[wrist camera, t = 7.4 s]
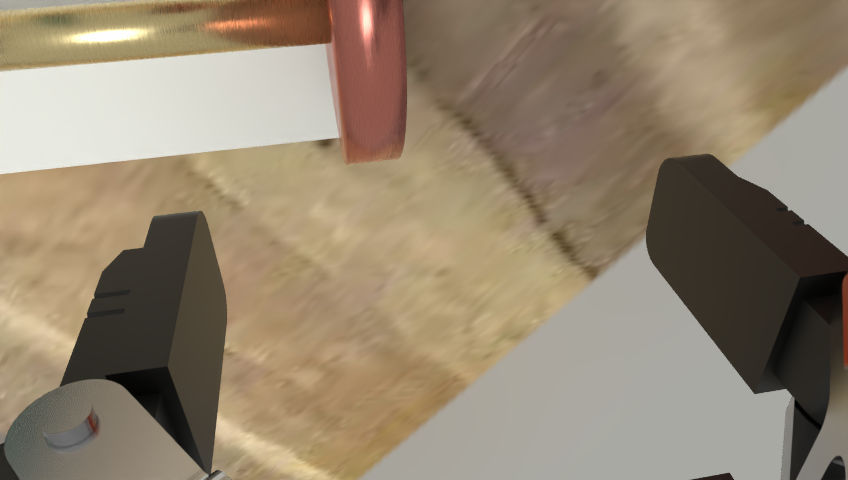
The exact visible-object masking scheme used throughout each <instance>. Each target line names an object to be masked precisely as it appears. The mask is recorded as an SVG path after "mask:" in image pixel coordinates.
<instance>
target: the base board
mask: <svg viewBox="0 0 848 480" xmlns="http://www.w3.org/2000/svg"><path fill="white" fill-rule="evenodd" d="M122 1H136V0H0V10H11V9H25V8H39V7H53V6H67V5H80V4H94V3H108V2H122ZM331 138H339V134H338V128H337V123H336V116H335V110H334V104H333V97H332V90H331V83H330V76H329V69H328V61H327V54H326V46H325V44H319V45H307V46H295V47H284V48H272V49H260V50H249V51H237V52H225V53H213V54H202V55H190V56H178V57H167V58H155V59H143V60H132V61H120V62H108V63H97V64H85V65H73V66H61V67H50V68H38V69H26V70H15V71H3V72H0V174H5V173H14V172H24V171H33V170H42V169H52V168H61V167H70V166H80V165H89V164H98V163H108V162H117V161H126V160H136V159H145V158H154V157H163V156H173V155H182V154H191V153H201V152H210V151H219V150H229V149H238V148H247V147H257V146H266V145H275V144H285V143H294V142H303V141H313V140H322V139H331Z"/></svg>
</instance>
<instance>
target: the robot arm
mask: <svg viewBox="0 0 848 480" xmlns="http://www.w3.org/2000/svg"><path fill="white" fill-rule="evenodd" d="M646 244H647V249H648V253H649V256H650V259H651V261H652V263H653V264H654V265H655V267H656V268H657V269H658V271H659V272H660V273H661V275H662V276H663V277H664V278H665V280H666V281H667V282H668V283H669V285H670V286H671V287H672V289H673V290H674V291H675V292H676V294H677V295H678V296H679V298H680V299H681V300H682V301H683V303H684V304H685V305H686V306H687V308H688V309H689V310H690V312H691V313H692V314H693V315H694V317H695V318H696V319H697V321H698V322H699V323H700V325H701V326H702V327H703V328H704V330H705V331H706V332H707V334H708V335H709V336H710V337H711V339H712V340H713V341H714V342H715V344H716V345H717V346H718V348H719V349H720V350H721V352H722V353H723V354H724V355H725V356H726V358H727V359H728V361H729V362H730V363H731V364H732V366H733V367H734V368H735V369H736V371H737V372H738V373H739V375H740V376H741V377H742V378H743V380H744V381H745V382H746V384H747V385H748V386H749V387H750V389H751V390H752V391H753V393H754V394H758V393H764V392H770V391H776V390H781V389H787V390H788V391H789V392H790V394H791V395H792V397H791V399H790V402H789V404H788V406H787V409H786V415H785V428H784V441H783V455H782V468H781V480H848V257H847V256H846V255H845V254H844V253H842V252H841V251H840V250H839V249H838V248H836V247H835V246H834V245H833V244H832V243H830V242H829V241H828V240H827V239H826V238H824V237H823V236H822V235H821V234H819V233H818V232H817V231H816V230H815V229H814V228H812V227H811V226H810V225H808V224H807V225H805V224H804V220H803V219H801V218H800V217H799V216H798V215H797V214H795V213H794V212H793V211H792V210H791V211H788V207H787V206H786V205H785V204H783V203H782V202H781V201H780V200H779V199H777V198H776V197H775V196H774V195H773V194H771V193H770V192H769V191H768V190H766V189H763V188H761V187H759V186H757V185H755V184H753V183H751V182H749V181H746V180H744V179H742V178H740V177H738V176H737V175H735V174H734V173H733V172H732V171H731V170H730V169H728V168H727V167H726V166H725V165H724V164H723V163H721V162H720V161H719V160H718V159H717V158H715V157H714V156H713V155H710V154H701V155H692V156H684V157H675V158H668V159H666V160H665V161H664V162H663V163H662V164H661V166H660V169H659V172H658V177H657V182H656V187H655V192H654V196H653V201H652V206H651V211H650V216H649V221H648V226H647V231H646ZM94 297H95V299H92V301H91V304H90V307H89V309H88V312H87V318H85V320H84V323H83V325H82V328H81V331H80V333H79V336H78V339H77V341H76V344H75V347H74V349H73V352H72V355H71V357H70V360H69V363H68V365H67V368H66V371H65V374H64V376H63V379H62V382H61V384H60V387H59V388H56V389H54V390H52V391H50V392H48V393H46V394H45V395H43V396H42V397H40V398H38V399H37V400H35V401H34V402H33V403H32V404H30V405H29V406H28V407H27V408H26V409H25V410H24V411H23V412H22V413H21V414H20V415H19V416H18V417H17V418H16V420H15V421H14V422H13V424H12V425H11V427H10V429H9V430H8V433H7V436H6V438H5V442H4V443H2V444H0V480H232V479H231V478H230V477H229V476H228V475H227V474H225V473H224V472H222V471H219V470H216V471H215V472H213V473H212V474H211V468H212V458H213V449H214V439H215V430H216V420H217V411H218V401H219V391H220V382H221V372H222V363H223V353H224V344H225V334H226V325H227V304H226V295H225V289H224V285H223V281H222V277H221V273H220V269H219V265H218V262H217V258H216V254H215V250H214V247H213V243H212V239H211V235H210V231H209V228H208V224H207V221H206V218H205V215H204V214H203V212H202V211H194V212H185V213H176V214H168V215H159V216H154V217H153V219H152V221H151V224H150V228H149V231H148V234H147V237H146V241H145V244H144V247H143V248H138V249H130V250H123V251H122V252H121V253H120V254H119V255H118V256H117V257H116V258H115V259H114V260H113V261H112V262H111V263H110V265H109V266H108V267H107V268H106V269H105V270H104V271H103V272H102V274H101V277H100V280H99V282H98V285H97V288H96V290H95V293H94ZM692 480H734V479H733V478H732V476H731V474H730V473H725V474H720V475H714V476H709V477H703V478H698V479H692Z"/></svg>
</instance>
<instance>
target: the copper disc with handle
mask: <svg viewBox="0 0 848 480" xmlns="http://www.w3.org/2000/svg"><path fill="white" fill-rule="evenodd" d="M319 44H325V46H326V54H327V61H328V69H329V76H330V83H331V90H332V97H333V104H334V110H335V116H336V123H337V128H338V134H339V140H340V145H341V150H342V154H343V158H344V162H345V164H346V165H347V164H355V163H364V162H373V161H382V160H391V159H398V158H399V157H400V156H401V154H402V151H403V146H404V140H405V131H406V111H407V76H406V49H405V31H404V17H403V5H402V0H136V1H122V2H108V3H94V4H80V5H67V6H53V7H39V8H25V9H11V10H0V72H3V71H15V70H26V69H38V68H50V67H61V66H73V65H85V64H97V63H108V62H120V61H132V60H143V59H155V58H167V57H178V56H190V55H202V54H213V53H225V52H237V51H249V50H260V49H272V48H284V47H295V46H307V45H319Z"/></svg>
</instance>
